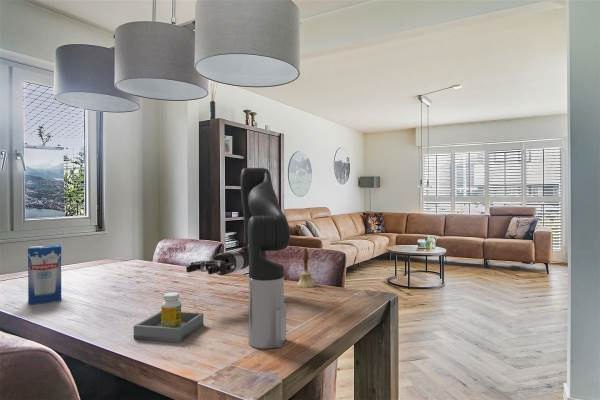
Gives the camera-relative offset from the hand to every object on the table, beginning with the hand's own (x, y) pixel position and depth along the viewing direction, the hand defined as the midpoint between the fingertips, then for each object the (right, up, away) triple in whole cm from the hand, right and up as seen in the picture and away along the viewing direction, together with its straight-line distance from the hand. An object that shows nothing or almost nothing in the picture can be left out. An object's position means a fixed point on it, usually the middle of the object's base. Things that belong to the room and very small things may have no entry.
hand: (197, 270), depth 114 cm
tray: (-5, -15, -11) cm, 19 cm away
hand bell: (+35, -15, +44) cm, 58 cm away
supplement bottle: (-5, -15, -11) cm, 19 cm away
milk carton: (-62, -15, +20) cm, 67 cm away
